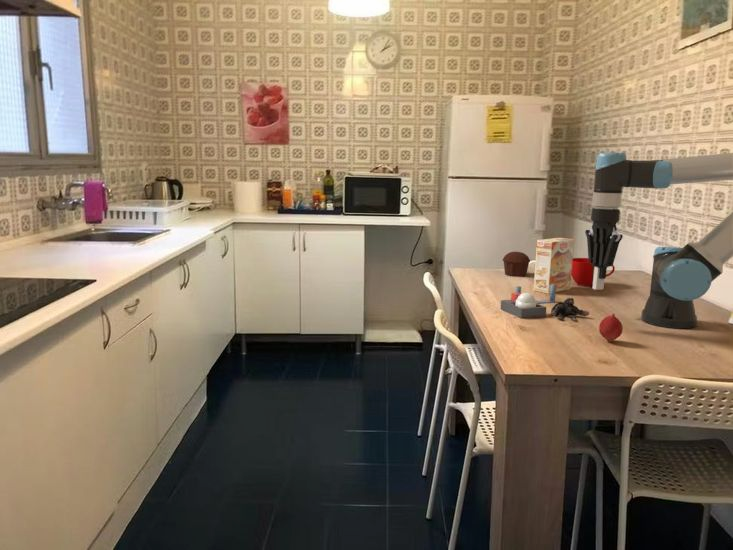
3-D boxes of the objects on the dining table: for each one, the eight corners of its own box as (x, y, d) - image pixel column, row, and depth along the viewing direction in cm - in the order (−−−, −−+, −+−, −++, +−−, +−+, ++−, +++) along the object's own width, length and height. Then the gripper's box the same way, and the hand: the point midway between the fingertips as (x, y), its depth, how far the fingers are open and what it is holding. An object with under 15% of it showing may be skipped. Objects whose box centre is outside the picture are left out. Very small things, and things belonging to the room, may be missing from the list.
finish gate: (556, 302, 203) (557, 285, 202) (517, 305, 198) (518, 287, 197) (552, 300, 205) (553, 283, 204) (513, 303, 200) (514, 286, 199)
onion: (594, 341, 157) (596, 312, 156) (603, 337, 161) (606, 309, 160) (615, 346, 153) (618, 316, 152) (624, 342, 157) (627, 313, 156)
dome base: (545, 316, 183) (547, 299, 182) (520, 318, 181) (522, 301, 180) (524, 307, 194) (525, 291, 193) (500, 309, 192) (501, 293, 191)
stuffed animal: (547, 316, 179) (552, 289, 187) (547, 337, 186) (552, 309, 194) (588, 320, 175) (591, 292, 183) (587, 341, 181) (590, 313, 189)
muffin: (532, 274, 255) (534, 251, 253) (524, 278, 246) (526, 255, 244) (506, 271, 261) (507, 249, 260) (497, 275, 252) (499, 252, 250)
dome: (539, 313, 184) (541, 294, 183) (522, 315, 182) (523, 295, 181) (528, 309, 190) (529, 290, 189) (511, 310, 188) (512, 291, 187)
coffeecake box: (548, 294, 216) (552, 241, 212) (532, 290, 221) (535, 239, 218) (571, 289, 225) (575, 238, 222) (554, 286, 231) (558, 237, 227)
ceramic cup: (617, 289, 226) (619, 264, 224) (571, 287, 228) (573, 262, 227) (608, 283, 238) (611, 258, 237) (565, 281, 241) (567, 257, 239)
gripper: (633, 209, 161) (624, 293, 166) (601, 206, 173) (593, 283, 178) (611, 209, 159) (602, 294, 163) (580, 206, 171) (572, 284, 175)
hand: (597, 288), depth 171 cm, fingers closed
